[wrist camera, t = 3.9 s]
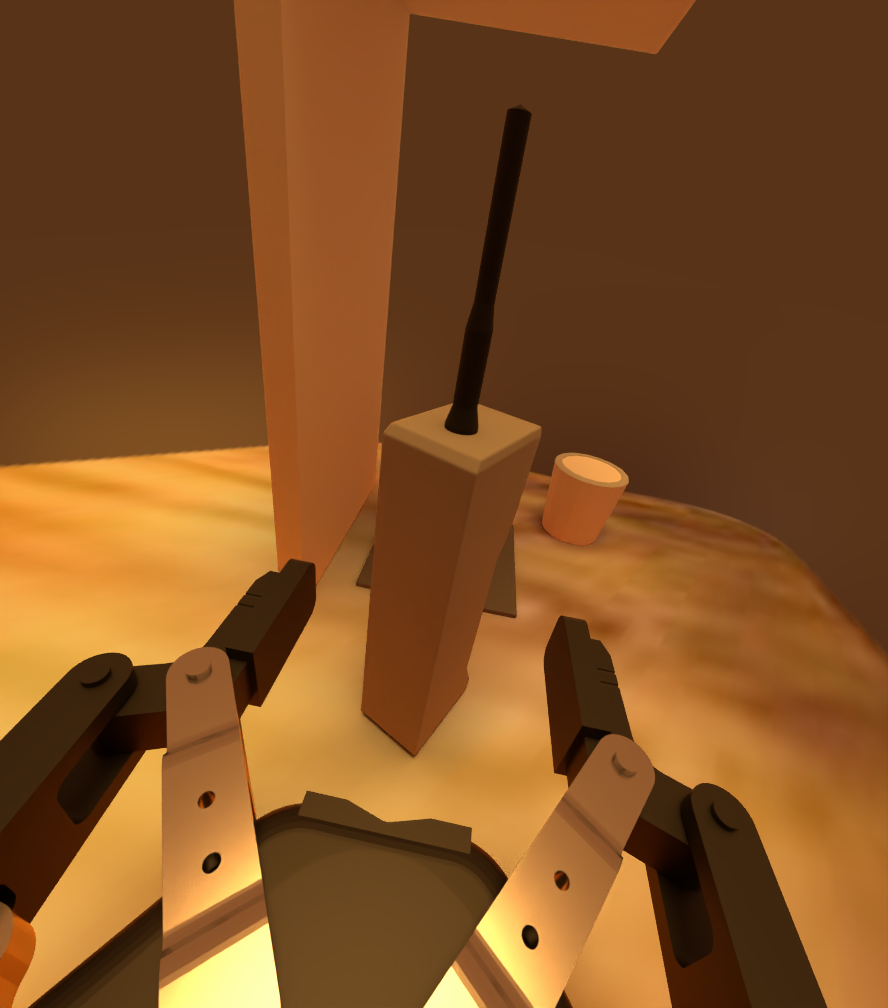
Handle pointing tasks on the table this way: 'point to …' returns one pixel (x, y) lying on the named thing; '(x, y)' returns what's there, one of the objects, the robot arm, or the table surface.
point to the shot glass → (581, 497)
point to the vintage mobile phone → (445, 512)
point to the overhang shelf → (353, 229)
